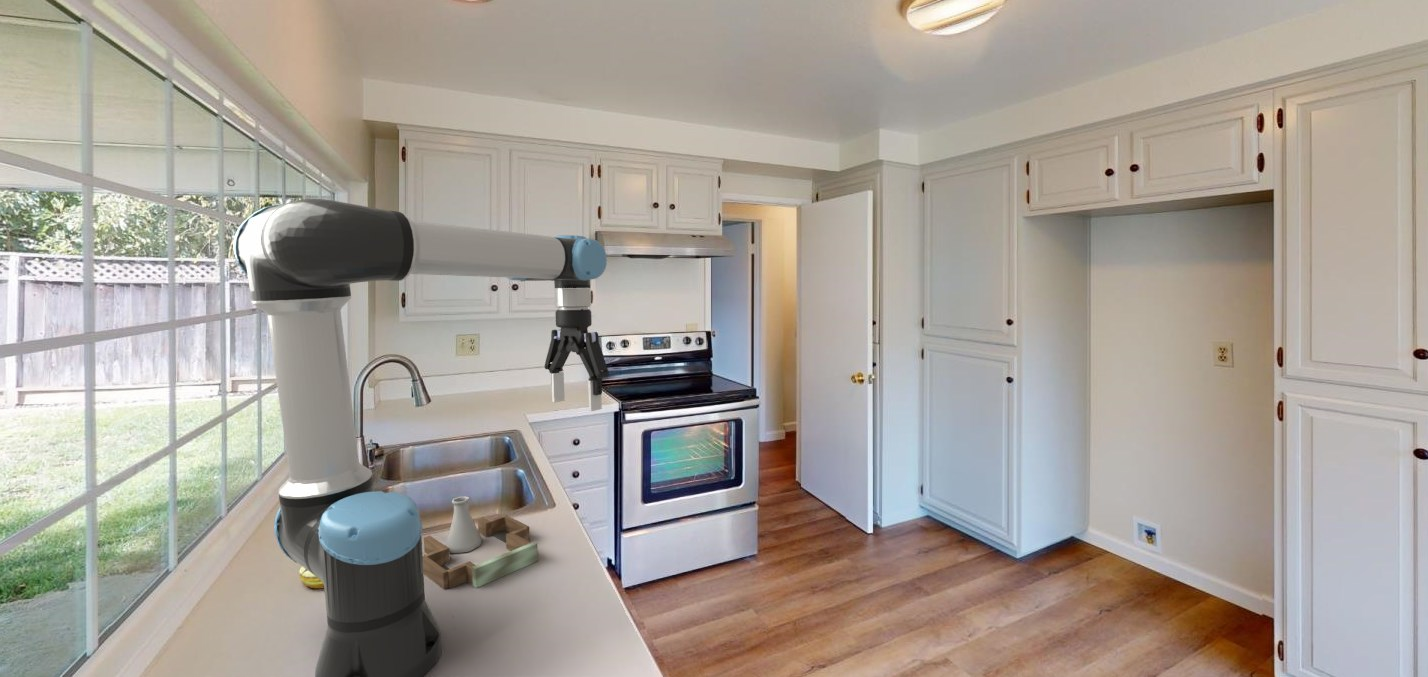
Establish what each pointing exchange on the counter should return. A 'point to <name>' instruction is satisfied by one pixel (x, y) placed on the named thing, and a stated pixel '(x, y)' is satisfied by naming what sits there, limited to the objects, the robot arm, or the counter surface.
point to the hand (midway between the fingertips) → (576, 405)
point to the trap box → (487, 571)
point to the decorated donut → (310, 579)
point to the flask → (462, 528)
